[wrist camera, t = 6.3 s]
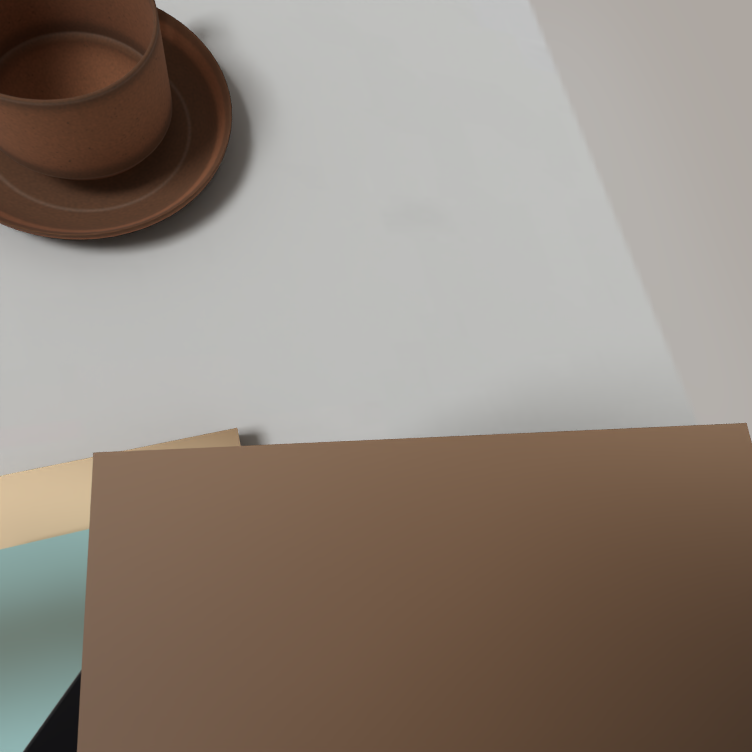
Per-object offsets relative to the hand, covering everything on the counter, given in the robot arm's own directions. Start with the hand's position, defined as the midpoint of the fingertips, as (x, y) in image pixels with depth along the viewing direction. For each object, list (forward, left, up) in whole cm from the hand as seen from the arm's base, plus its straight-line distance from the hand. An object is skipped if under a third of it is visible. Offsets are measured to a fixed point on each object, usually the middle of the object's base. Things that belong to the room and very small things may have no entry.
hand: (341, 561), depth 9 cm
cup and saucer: (+20, +1, -14) cm, 24 cm away
